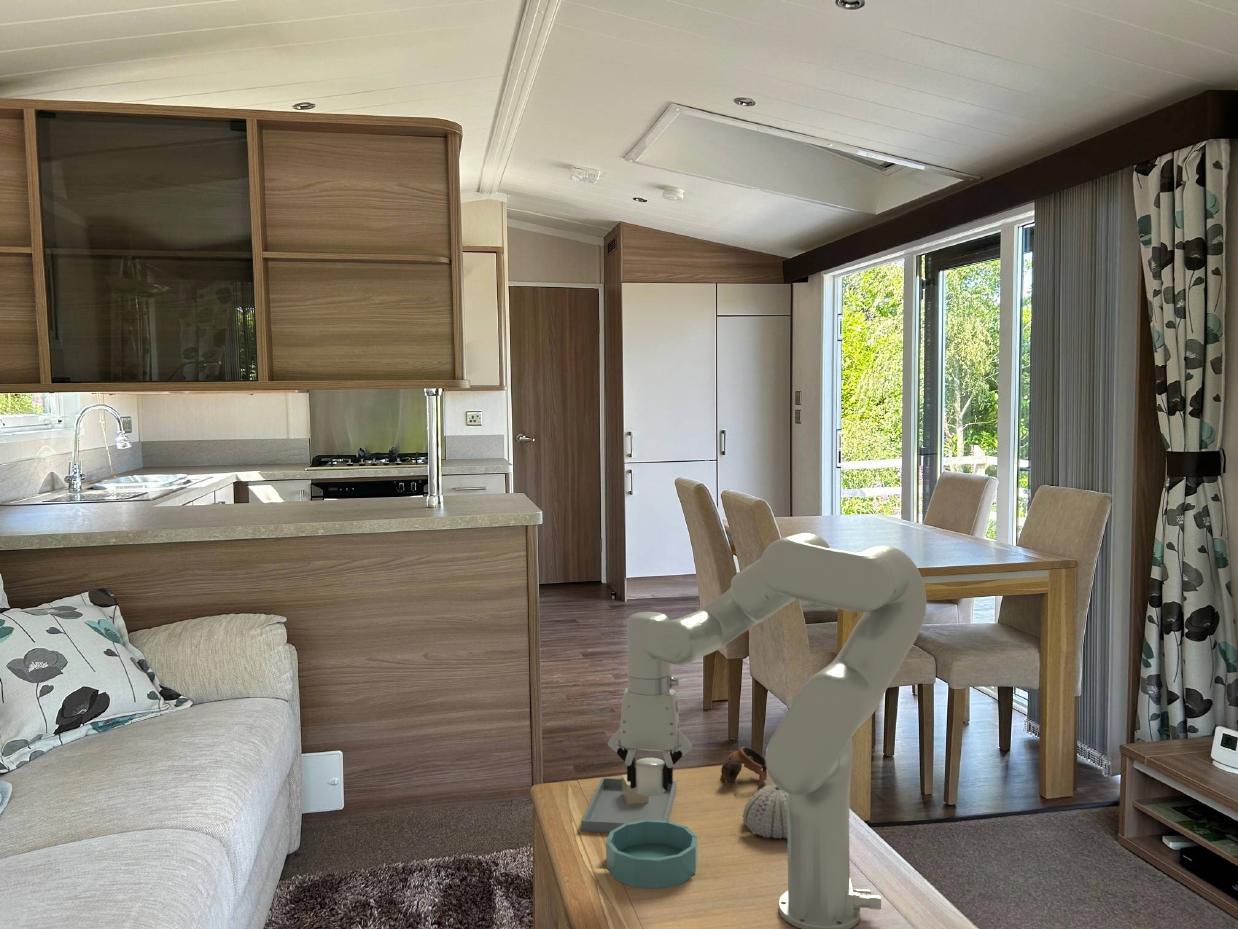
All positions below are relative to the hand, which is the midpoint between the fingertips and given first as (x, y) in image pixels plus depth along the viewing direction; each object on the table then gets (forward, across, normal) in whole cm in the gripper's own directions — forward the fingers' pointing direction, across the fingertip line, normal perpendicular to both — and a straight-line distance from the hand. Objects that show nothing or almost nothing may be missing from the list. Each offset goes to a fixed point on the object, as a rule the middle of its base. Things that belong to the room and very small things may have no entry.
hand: (650, 785), depth 158 cm
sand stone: (+14, +7, -27) cm, 31 cm away
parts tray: (+14, +7, -22) cm, 27 cm away
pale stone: (+1, 0, 0) cm, 1 cm away
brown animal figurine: (+15, -15, -40) cm, 45 cm away
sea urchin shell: (+15, -22, -18) cm, 32 cm away
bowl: (+14, 0, 0) cm, 14 cm away
